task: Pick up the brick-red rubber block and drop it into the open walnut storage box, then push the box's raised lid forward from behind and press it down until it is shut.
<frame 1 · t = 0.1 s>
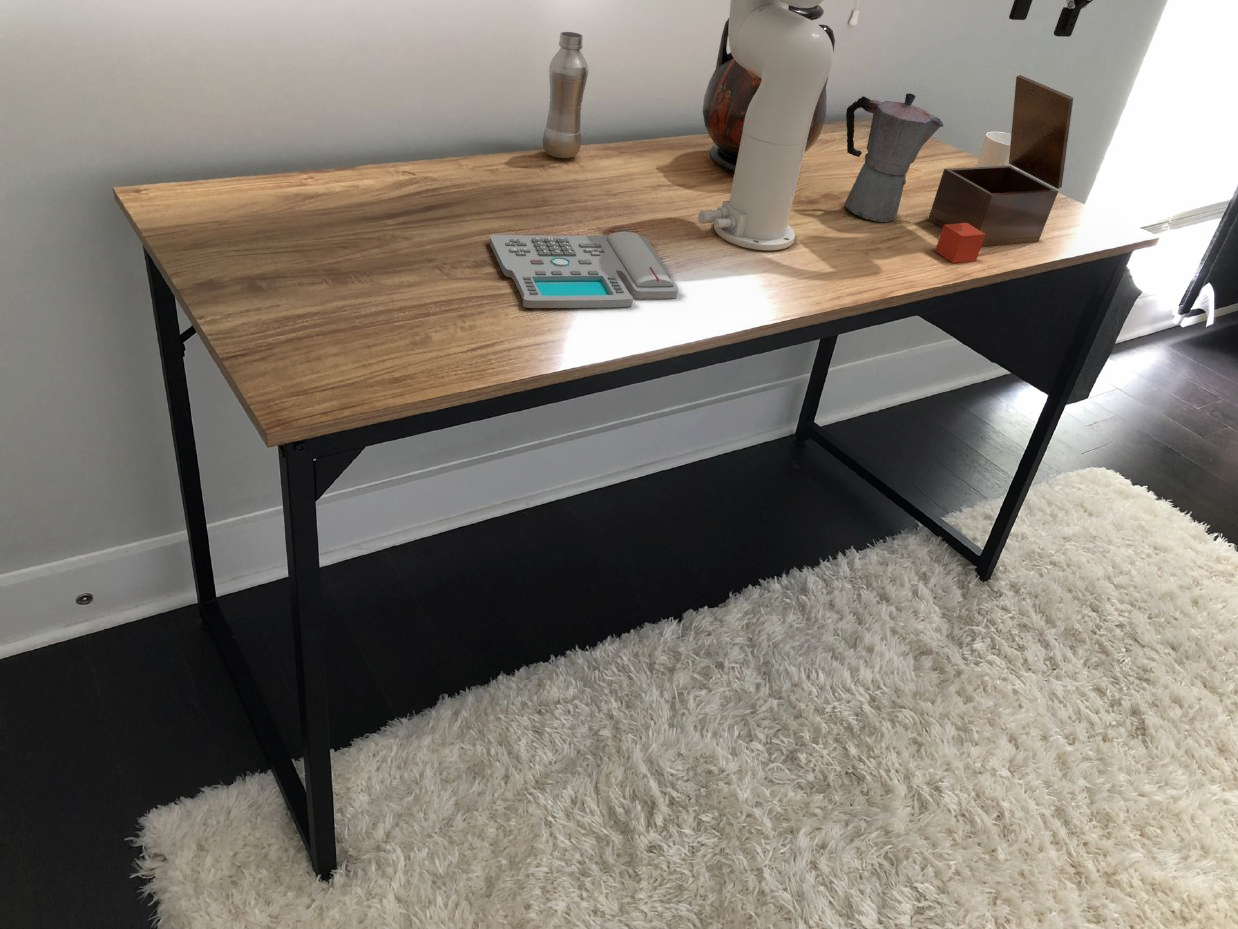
hand: (1038, 27, 151), 31 cm above the table, tool pointing down, fingers open, 9 cm apart
box: (982, 230, 166), on the table
amphora vase: (752, 168, 177), on the table
office telephone: (585, 275, 134), on the table
moka pot: (867, 213, 166), on the table
lid: (1039, 132, 158), point 16 cm above the table, hinge at 70.0°
block: (955, 255, 155), on the table
white cup: (988, 193, 182), on the table
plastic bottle: (560, 157, 170), on the table
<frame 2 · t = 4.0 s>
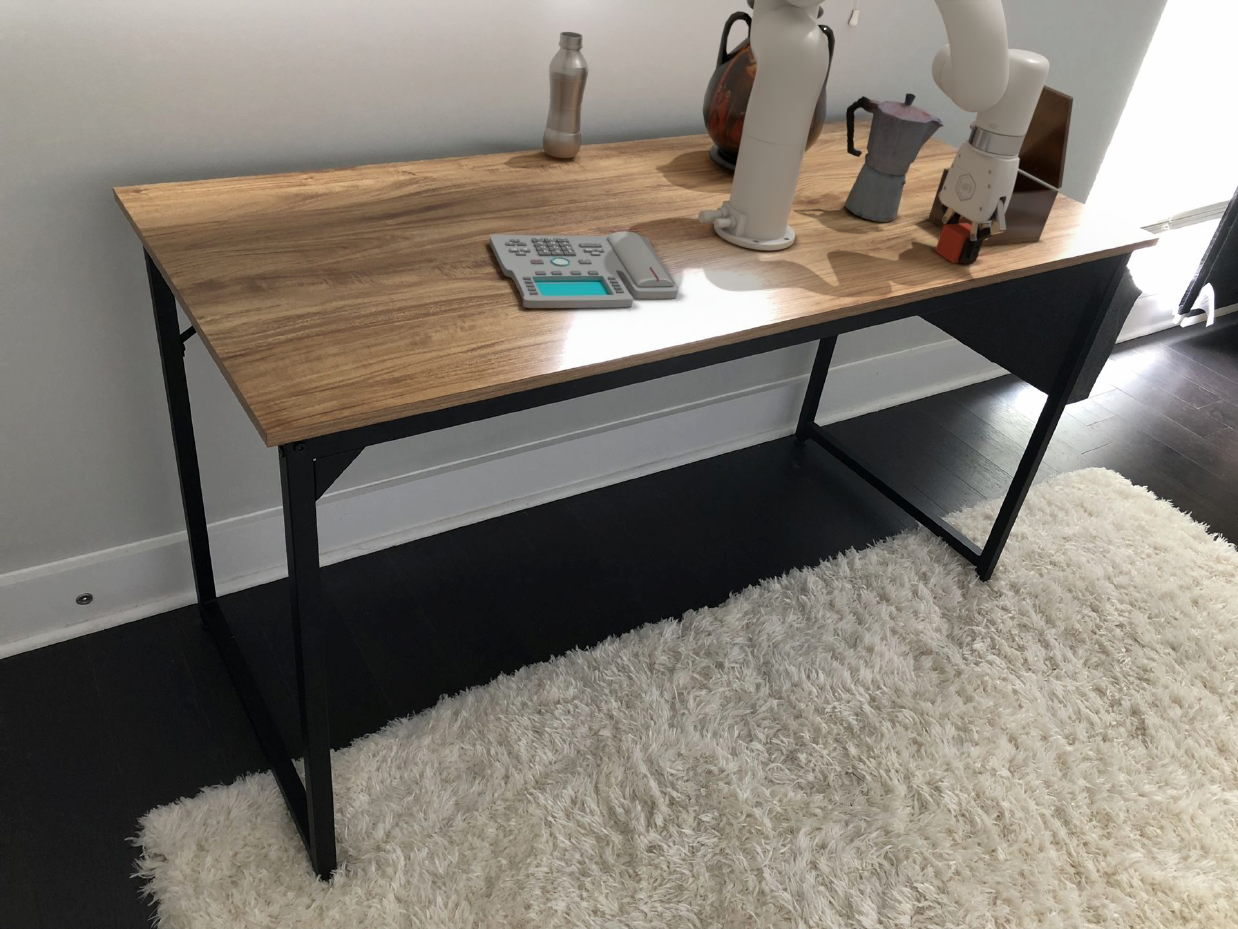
hand: (956, 253, 155), 0 cm above the table, tool pointing down, fingers closed on block, 4 cm apart
block: (955, 255, 155), on the table, touching gripper
everything else where it was.
when the fingers open (8 cm above the table, at t = 9.0 s): block stays where it is, resting on box.
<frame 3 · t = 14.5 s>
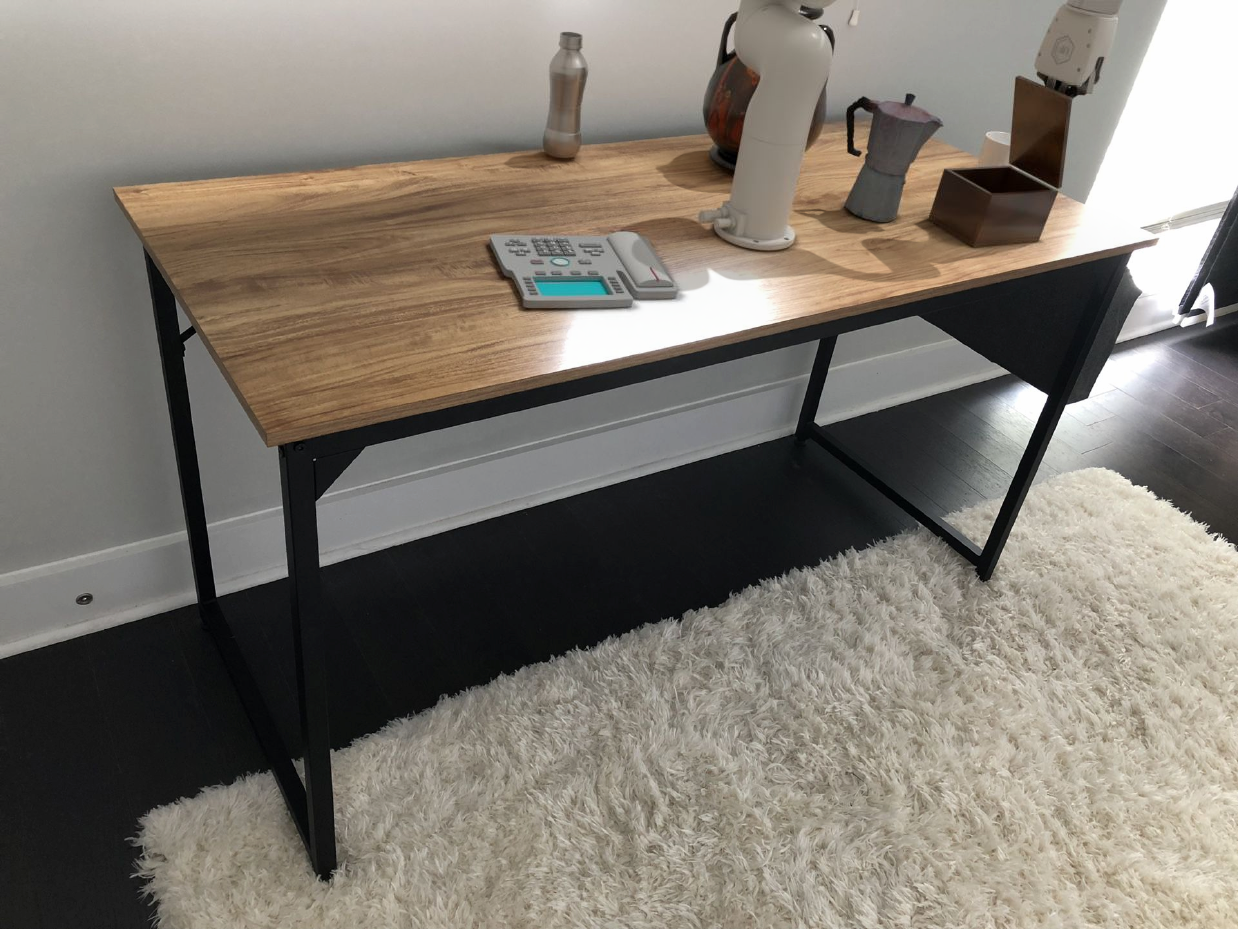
hand: (1048, 123, 157), 18 cm above the table, tool pointing down, fingers closed
lid: (1038, 132, 158), point 16 cm above the table, hinge at 69.3°, touching gripper
block: (971, 226, 164), point 1 cm above the table, touching box
everything else where it was.
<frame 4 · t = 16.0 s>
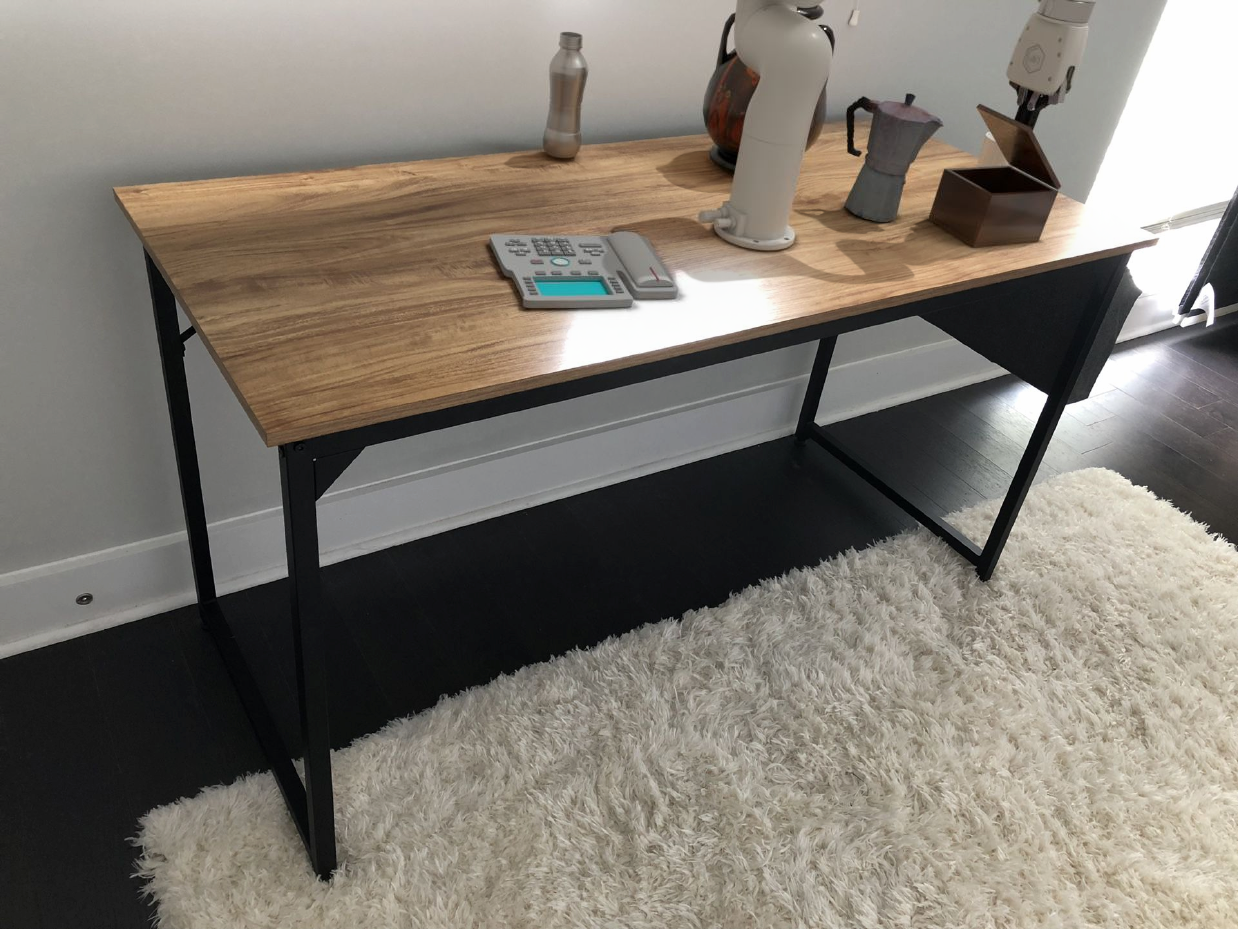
hand: (1020, 132, 156), 17 cm above the table, tool pointing down, fingers closed
lid: (1019, 147, 158), point 14 cm above the table, hinge at 39.8°, touching gripper
everything else where it was.
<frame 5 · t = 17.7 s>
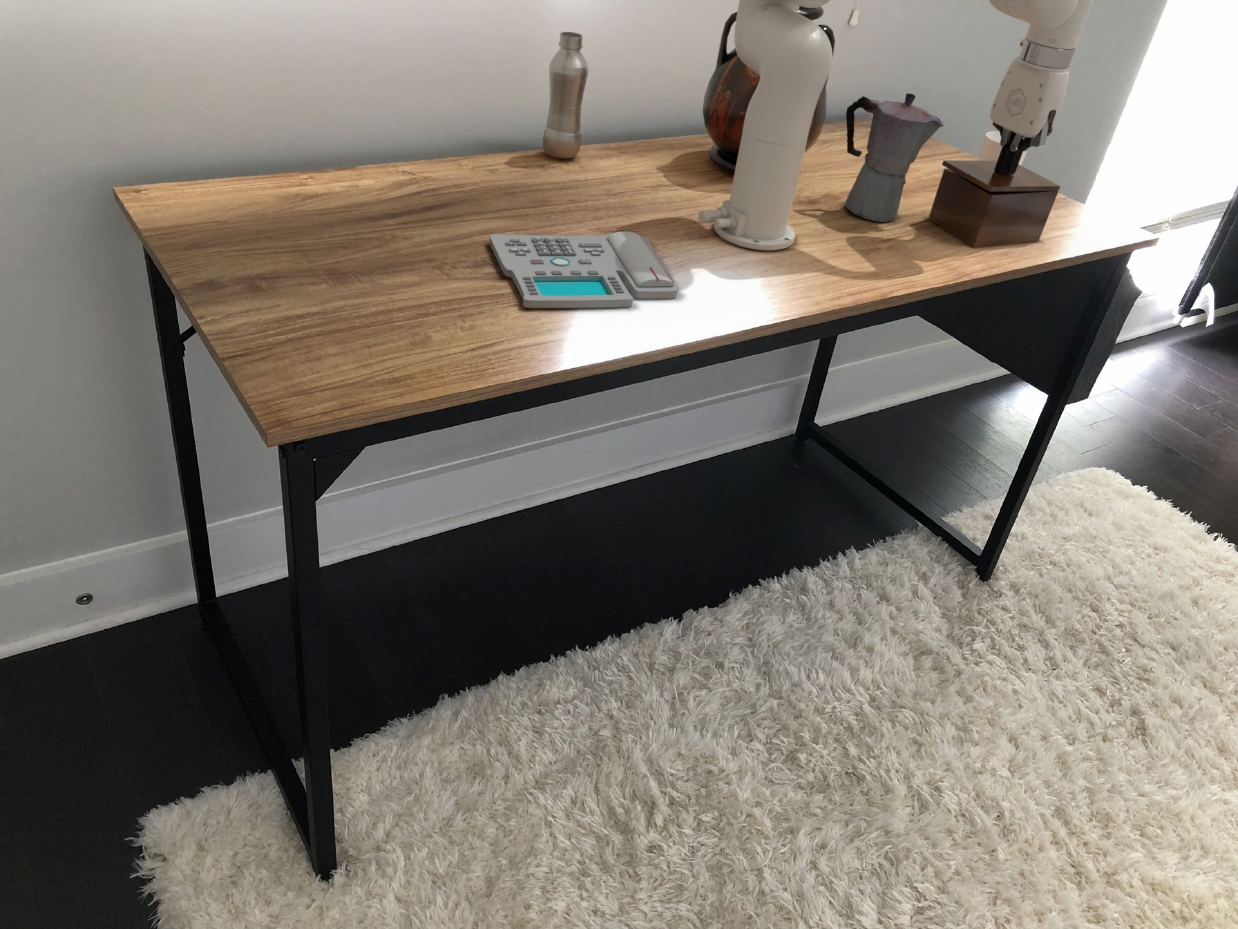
hand: (1004, 172, 160), 10 cm above the table, tool pointing down, fingers closed
lid: (1000, 175, 160), point 10 cm above the table, hinge at 2.2°, touching gripper
everything else where it was.
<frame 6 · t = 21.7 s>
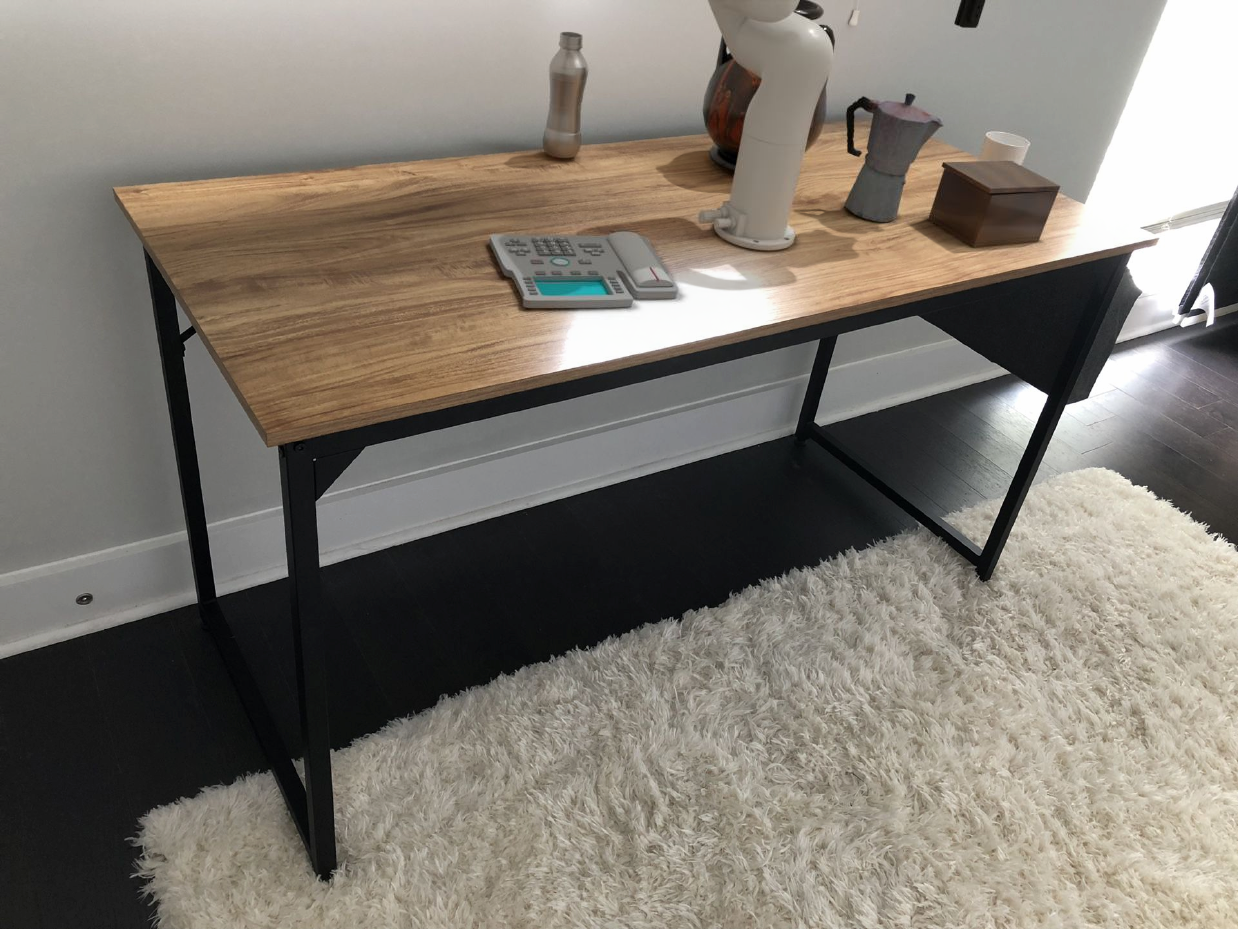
hand: (965, 26, 146), 31 cm above the table, tool pointing down, fingers closed
lid: (1000, 176, 160), point 9 cm above the table, hinge at 1.1°
everything else where it was.
at the end: block inside the target area in the box (3.0 cm from its centre), point 0.8 cm above the box's base; lid at +1° (first picture: +70°) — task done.
